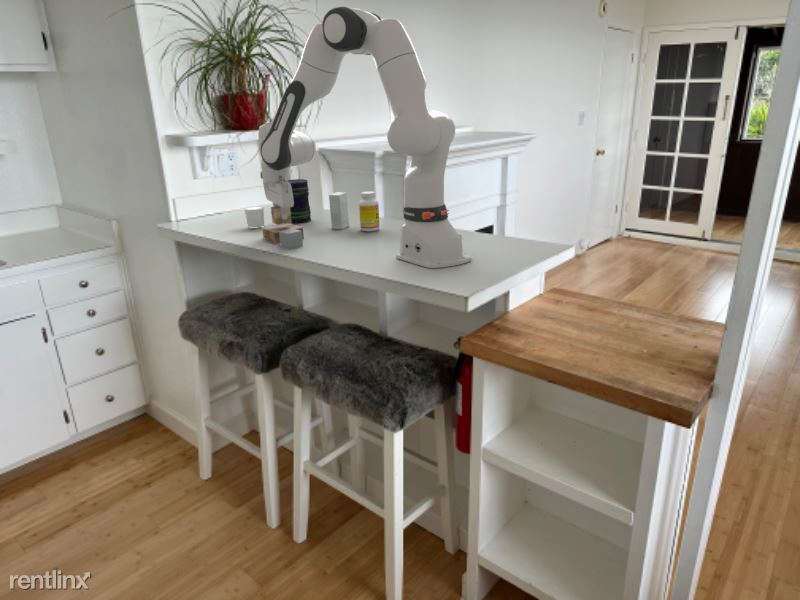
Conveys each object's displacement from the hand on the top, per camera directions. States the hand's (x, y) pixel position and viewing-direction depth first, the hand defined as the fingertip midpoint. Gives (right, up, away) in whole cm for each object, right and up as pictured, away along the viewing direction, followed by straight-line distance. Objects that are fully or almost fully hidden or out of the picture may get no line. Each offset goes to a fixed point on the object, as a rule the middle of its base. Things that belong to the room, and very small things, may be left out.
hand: (281, 217), depth 185 cm
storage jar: (0, +3, +28) cm, 28 cm away
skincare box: (+18, -1, +15) cm, 24 cm away
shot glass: (-14, -1, +21) cm, 25 cm away
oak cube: (0, -2, 0) cm, 2 cm away
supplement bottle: (+29, -3, +10) cm, 30 cm away
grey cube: (+5, -10, -8) cm, 14 cm away
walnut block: (0, -7, +3) cm, 8 cm away
